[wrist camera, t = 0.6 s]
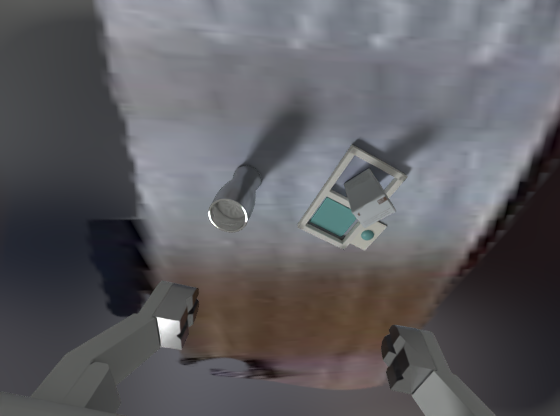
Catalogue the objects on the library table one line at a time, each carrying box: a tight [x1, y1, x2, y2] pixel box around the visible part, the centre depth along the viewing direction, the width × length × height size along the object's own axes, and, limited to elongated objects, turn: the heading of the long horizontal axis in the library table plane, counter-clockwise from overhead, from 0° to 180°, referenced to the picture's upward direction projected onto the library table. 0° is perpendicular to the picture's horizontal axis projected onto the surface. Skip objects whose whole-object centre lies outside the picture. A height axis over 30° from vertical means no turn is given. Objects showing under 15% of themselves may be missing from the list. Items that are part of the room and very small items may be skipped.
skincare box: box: [344, 168, 396, 228], centre depth 47 cm, size 6×4×12 cm
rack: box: [298, 144, 407, 250], centre depth 54 cm, size 21×17×2 cm
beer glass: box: [208, 165, 261, 232], centre depth 48 cm, size 7×7×15 cm
